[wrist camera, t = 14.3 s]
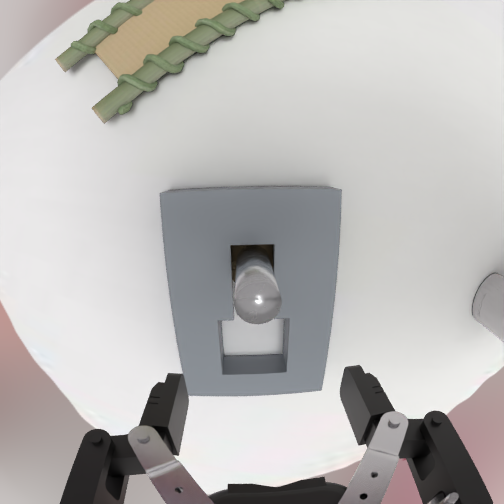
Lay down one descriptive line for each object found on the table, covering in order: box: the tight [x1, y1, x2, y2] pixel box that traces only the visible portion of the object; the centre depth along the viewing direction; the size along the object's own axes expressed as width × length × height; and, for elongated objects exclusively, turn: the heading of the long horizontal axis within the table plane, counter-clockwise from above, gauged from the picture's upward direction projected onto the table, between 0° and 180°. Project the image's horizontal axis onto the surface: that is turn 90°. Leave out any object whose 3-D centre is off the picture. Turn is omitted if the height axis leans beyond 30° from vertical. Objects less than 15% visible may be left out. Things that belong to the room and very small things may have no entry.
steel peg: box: [231, 244, 282, 324], centre depth 27 cm, size 6×6×12 cm
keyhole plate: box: [160, 186, 342, 396], centre depth 32 cm, size 18×26×4 cm
